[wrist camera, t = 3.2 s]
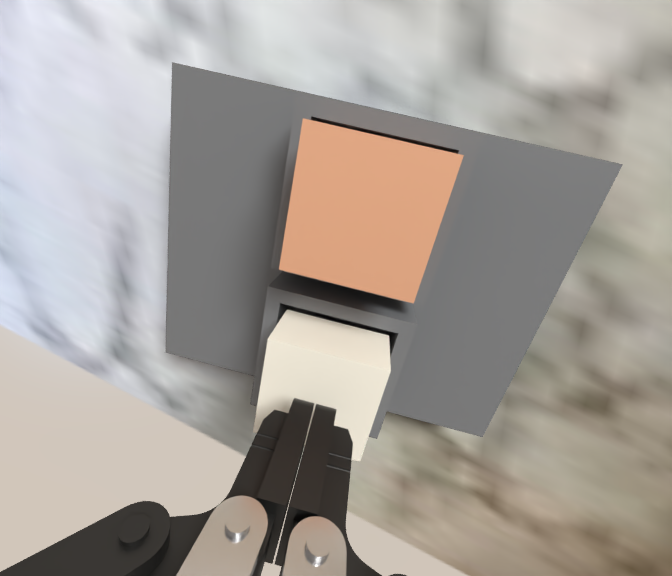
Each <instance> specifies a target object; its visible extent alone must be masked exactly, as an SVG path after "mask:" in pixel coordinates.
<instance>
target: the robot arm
mask: <svg viewBox="0 0 672 576" xmlns="http://www.w3.org/2000/svg"><path fill="white" fill-rule="evenodd" d="M313 407H314V403H312V402H308V401H304V400H300V399H297V398H294V399H293V402H292V404H291V407H290V410H289V413H286V412H282V411H278V410H274V411H272V412H271V413H270V414H269V415H268V416H267V417H265V418H264V419H263V421H262V423H261V426H260V428H259V430H258V432H257V435H256V436H255V439H254V441H253V443H252V446H251V447H250V449H249V451H248V454H247V456H246V458H245V460H244V462H243V465H242V467H241V469H240V471H239V473H238V475H237V478H236V480H235V482H234V484H233V486H232V488H231V490H230V492H229V494H228V495H227V497H226V498H225V499H224V500H223V501H222V502H221V503H220V504H219V505H218V506H217V507H215V508H213V509H212V510H210V511H207V512H205V513H202V514H198V515H189V516H176V517H170V516H169V513H168V512H167V510H166V509H165V508H164V507H163V506H162V505H160V504H158V503H155V502H151V501H143V502H137V503H134V504H131V505H129V506H127V507H124V508H123V509H120V510H119V511H117V512H115V513H113V514H111V515H109V516H107V517H105V518H103V519H101V520H99V521H97V522H96V523H94V524H92V525H90V526H88V527H86V528H84V529H82V530H80V531H78V532H76V533H74V534H73V535H71V536H69V537H67V538H65V539H63V540H61V541H59V542H57V543H55V544H53V545H51V546H50V547H48V548H46V549H44V550H42V551H40V552H38V553H36V554H34V555H32V556H30V557H28V558H27V559H24V560H23V561H21V562H19V563H17V564H15V565H13V566H11V567H9V568H7V569H5V570H3V571H1V572H0V576H261V572H262V569H263V566H264V562H268V563H273V559H274V555H275V551H276V548H277V544H278V540H279V537H280V533H281V529H282V526H283V522H284V518H285V514H286V511H287V507H288V504H289V500H290V496H291V492H292V489H293V485H294V481H295V478H296V481H295V485H294V489H293V492H292V496H291V500H290V504H289V507H288V511H287V516H286V520H285V524H284V528H283V532H282V536H281V541H280V544H279V549H278V553H277V557H276V561H275V564H276V565H279V566H282V567H281V571H280V575H279V576H382V575H380V574H379V573H377V572H376V571H375V570H373V569H372V568H370V567H369V566H367V565H366V564H365V563H364V562H363V561H362V560H361V559H359V557H358V556H357V555H356V554H355V553H354V551H353V549H352V547H351V546H350V543H349V541H348V538H347V534H346V512H347V502H348V491H349V481H350V470H351V459H352V449H353V442H352V439H351V436H350V433H349V430H348V429H346V428H342V427H338V426H334V421H335V416H336V409H334V408H331V407H327V406H323V405H319V404H316V406H315V410H314V414H313V418H312V421H311V425H310V429H309V433H308V436H307V432H308V428H309V424H310V420H311V416H312V412H313ZM306 436H307V440H306ZM305 440H306V444H305ZM304 444H305V447H304ZM303 448H304V451H303ZM302 452H303V455H302ZM301 456H302V459H301ZM300 459H301V462H300ZM299 463H300V466H299ZM298 467H299V470H298ZM297 470H298V474H297ZM296 474H297V477H296ZM390 576H406V575H402V574H393V575H390Z"/></svg>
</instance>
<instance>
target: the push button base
mask: <svg viewBox="0 0 672 576" xmlns="http://www.w3.org/2000/svg"><path fill="white" fill-rule="evenodd" d="M303 118H304V119H309V120H313V121H317V122H322V123H326V124H330V125H335V126H339V127H343V128H348V129H352V130H356V131H361V132H365V133H369V134H374V135H378V136H382V137H387V138H391V139H395V140H400V141H404V142H408V143H413V144H417V145H421V146H426V147H430V148H434V149H439V150H443V151H447V152H452V153H456V154H460V155H464V156H463V159H462V162H461V165H460V168H459V171H458V174H457V177H456V180H455V183H454V186H453V189H452V192H451V195H450V198H449V201H448V204H447V206H446V209H445V212H444V215H443V218H442V221H441V224H440V227H439V230H438V233H437V236H436V239H435V242H434V245H433V248H432V251H431V254H430V257H429V260H428V263H427V266H426V268H425V271H424V274H423V277H422V280H421V283H420V286H419V289H418V292H417V295H416V298H415V301H414V303H410V302H406V301H402V300H398V299H394V298H390V297H386V296H382V295H378V294H374V293H370V292H366V291H362V290H358V289H354V288H350V287H346V286H342V285H338V284H334V283H330V282H326V281H322V280H318V279H314V278H310V277H306V276H303V275H299V274H295V273H291V272H287V271H283V270H279V265H280V259H281V253H282V247H283V240H284V234H285V228H286V221H287V215H288V209H289V203H290V196H291V190H292V184H293V177H294V171H295V165H296V159H297V152H298V146H299V140H300V134H301V127H302V121H303ZM622 165H623V164H618V163H614V162H609V161H605V160H601V159H596V158H592V157H587V156H583V155H578V154H574V153H570V152H565V151H561V150H556V149H552V148H548V147H543V146H539V145H534V144H530V143H526V142H521V141H517V140H512V139H508V138H504V137H499V136H495V135H490V134H486V133H481V132H477V131H473V130H468V129H464V128H459V127H455V126H451V125H446V124H442V123H437V122H433V121H429V120H424V119H420V118H415V117H411V116H406V115H402V114H398V113H393V112H389V111H384V110H380V109H376V108H371V107H367V106H362V105H358V104H354V103H349V102H345V101H340V100H336V99H332V98H327V97H323V96H318V95H314V94H309V93H305V92H301V91H296V90H292V89H287V88H283V87H279V86H274V85H270V84H265V83H261V82H257V81H252V80H248V79H243V78H239V77H235V76H230V75H226V74H221V73H217V72H212V71H208V70H204V69H199V68H195V67H190V66H186V65H182V64H177V63H173V62H172V96H171V140H170V183H169V227H168V271H167V314H166V352H167V353H170V354H174V355H178V356H181V357H185V358H189V359H193V360H196V361H200V362H204V363H208V364H211V365H215V366H219V367H223V368H226V369H230V370H234V371H238V372H241V373H245V374H249V375H252V376H255V377H254V383H253V390H252V397H251V403H250V404H251V405H254V406H257V403H258V397H259V391H260V385H261V378H262V372H263V366H264V359H265V353H266V347H267V341H268V338H269V336H270V335H271V333H272V332H273V330H274V328H275V327H276V325H277V324H278V322H279V321H280V319H281V318H282V316H283V315H284V313H285V312H286V310H291V311H295V312H299V313H303V314H307V315H311V316H315V317H319V318H322V319H326V320H330V321H334V322H338V323H342V324H346V325H350V326H354V327H357V328H361V329H365V330H369V331H373V332H377V333H381V334H385V335H389V345H390V364H391V372H390V375H389V378H388V381H387V384H386V387H385V390H384V392H383V395H382V398H381V401H380V404H379V407H378V410H377V413H376V416H375V419H374V422H373V425H372V428H371V431H370V434H369V437H372V438H376V439H377V437H378V435H379V432H380V429H381V426H382V423H383V420H384V418H385V415H386V412H391V413H395V414H398V415H402V416H406V417H409V418H413V419H417V420H421V421H424V422H428V423H432V424H436V425H439V426H443V427H447V428H451V429H454V430H458V431H462V432H466V433H469V434H473V435H477V436H480V437H483V435H484V433H485V431H486V429H487V427H488V425H489V423H490V421H491V419H492V418H493V416H494V414H495V412H496V410H497V408H498V406H499V404H500V402H501V400H502V398H503V396H504V394H505V392H506V390H507V388H508V386H509V384H510V383H511V381H512V379H513V377H514V375H515V373H516V371H517V369H518V367H519V365H520V363H521V361H522V359H523V357H524V355H525V353H526V351H527V349H528V348H529V346H530V344H531V342H532V340H533V338H534V336H535V334H536V332H537V330H538V328H539V326H540V324H541V322H542V320H543V318H544V316H545V315H546V313H547V311H548V309H549V307H550V305H551V303H552V301H553V299H554V297H555V295H556V293H557V291H558V289H559V287H560V285H561V283H562V281H563V280H564V278H565V276H566V274H567V272H568V270H569V268H570V266H571V264H572V262H573V260H574V258H575V256H576V254H577V252H578V250H579V248H580V247H581V245H582V243H583V241H584V239H585V237H586V235H587V233H588V231H589V229H590V227H591V225H592V223H593V221H594V219H595V217H596V215H597V213H598V212H599V210H600V208H601V206H602V204H603V202H604V200H605V198H606V196H607V194H608V192H609V190H610V188H611V186H612V184H613V182H614V180H615V178H616V177H617V175H618V173H619V171H620V169H621V167H622Z"/></svg>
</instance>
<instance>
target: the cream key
mask: <svg viewBox="0 0 672 576" xmlns="http://www.w3.org/2000/svg"><path fill="white" fill-rule="evenodd" d="M390 372H391V364H390V345H389V335H385V334H381V333H377V332H373V331H369V330H365V329H361V328H357V327H354V326H350V325H346V324H342V323H338V322H334V321H330V320H326V319H322V318H319V317H315V316H311V315H307V314H303V313H299V312H295V311H291V310H286V312H285V313H284V315H283V316H282V318H281V319H280V321H279V322H278V324H277V325H276V327H275V328H274V330H273V332H272V333H271V335H270V336H269V338H268V341H267V347H266V353H265V359H264V366H263V372H262V378H261V385H260V391H259V397H258V403H257V410H256V416H255V422H254V428H253V432H254V433H257V432H258V430H259V428H260V426H261V423H262V421H263V419H264V418H265V417H267V416H268V415H269V414H270V413H271V412H272V411H274V410H278V411H282V412H286V413H289V410H290V407H291V404H292V402H293V399H294V398H297V399H300V400H304V401H308V402H312V403H314V407H313V412H312V416H311V420H310V424H309V428H308V432H307V436H308V433H309V429H310V425H311V421H312V418H313V414H314V410H315V406H316V404H319V405H323V406H327V407H331V408H334V409H336V416H335V421H334V426H338V427H342V428H346V429H348V430H349V433H350V436H351V439H352V442H353V449H352V460H356V461H360V460H361V457H362V454H363V452H364V449H365V446H366V443H367V440H368V437H369V434H370V431H371V428H372V425H373V422H374V419H375V416H376V413H377V410H378V407H379V404H380V401H381V398H382V395H383V392H384V390H385V387H386V384H387V381H388V378H389V375H390ZM307 436H306V440H307ZM306 440H305V444H306ZM305 444H304V446H305Z"/></svg>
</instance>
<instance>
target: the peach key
mask: <svg viewBox="0 0 672 576" xmlns="http://www.w3.org/2000/svg"><path fill="white" fill-rule="evenodd" d="M463 156H464V155H460V154H456V153H452V152H447V151H443V150H439V149H434V148H430V147H426V146H421V145H417V144H413V143H408V142H404V141H400V140H395V139H391V138H387V137H382V136H378V135H374V134H369V133H365V132H361V131H356V130H352V129H348V128H343V127H339V126H335V125H330V124H326V123H322V122H317V121H313V120H309V119H304V118H303V121H302V127H301V134H300V140H299V146H298V152H297V159H296V165H295V171H294V177H293V184H292V190H291V196H290V203H289V209H288V215H287V221H286V228H285V234H284V240H283V247H282V253H281V259H280V265H279V270H283V271H287V272H291V273H295V274H299V275H303V276H306V277H310V278H314V279H318V280H322V281H326V282H330V283H334V284H338V285H342V286H346V287H350V288H354V289H358V290H362V291H366V292H370V293H374V294H378V295H382V296H386V297H390V298H394V299H398V300H402V301H406V302H410V303H414V301H415V298H416V295H417V292H418V289H419V286H420V283H421V280H422V277H423V274H424V271H425V268H426V266H427V263H428V260H429V257H430V254H431V251H432V248H433V245H434V242H435V239H436V236H437V233H438V230H439V227H440V224H441V221H442V218H443V215H444V212H445V209H446V206H447V204H448V201H449V198H450V195H451V192H452V189H453V186H454V183H455V180H456V177H457V174H458V171H459V168H460V165H461V162H462V159H463Z"/></svg>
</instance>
